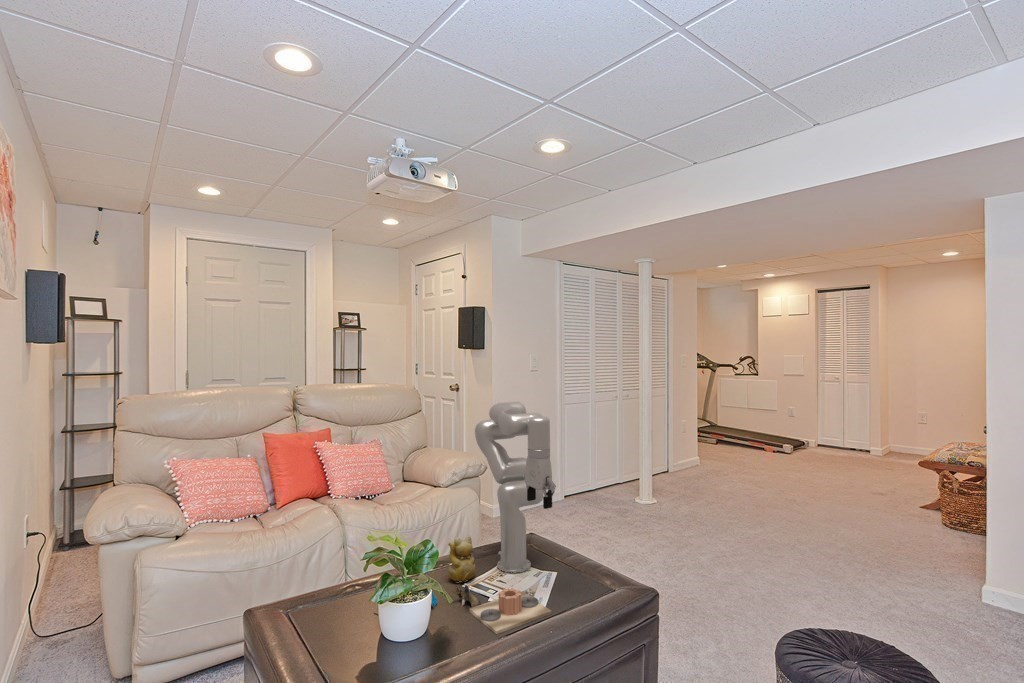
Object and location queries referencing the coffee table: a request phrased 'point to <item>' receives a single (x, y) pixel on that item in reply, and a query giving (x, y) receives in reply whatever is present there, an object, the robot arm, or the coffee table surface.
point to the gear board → (503, 622)
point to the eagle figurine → (467, 596)
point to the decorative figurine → (461, 559)
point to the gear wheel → (510, 601)
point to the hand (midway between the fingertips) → (539, 504)
